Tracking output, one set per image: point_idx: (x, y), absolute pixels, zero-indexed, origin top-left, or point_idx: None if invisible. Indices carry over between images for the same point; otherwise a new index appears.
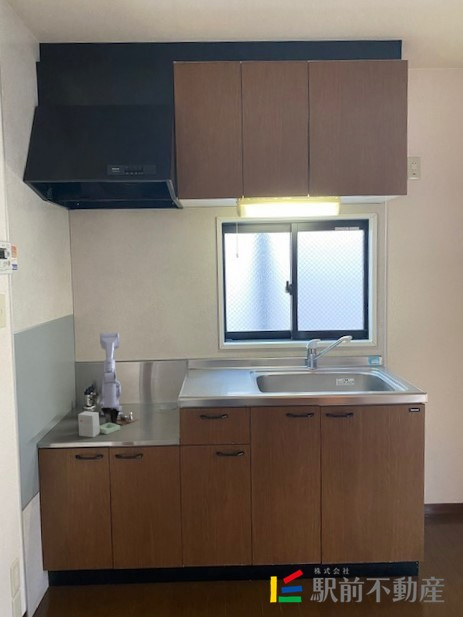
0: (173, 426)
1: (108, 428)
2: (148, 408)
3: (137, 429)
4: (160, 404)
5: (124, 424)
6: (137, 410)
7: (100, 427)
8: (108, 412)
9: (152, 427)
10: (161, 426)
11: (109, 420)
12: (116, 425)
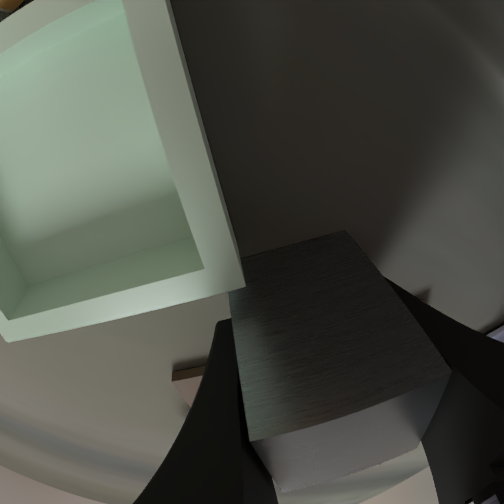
0: (34, 479)
1: (113, 193)
2: (373, 481)
3: (11, 397)
4: (367, 498)
5: (183, 393)
6: (399, 457)
7: (35, 27)
8: (430, 419)
9: (36, 449)
10: (44, 468)
11: (266, 319)
12: (24, 315)
